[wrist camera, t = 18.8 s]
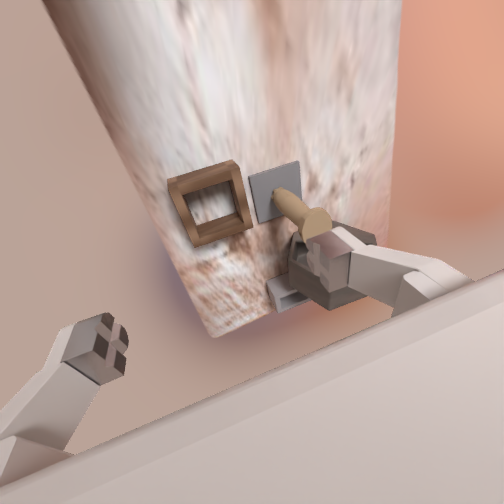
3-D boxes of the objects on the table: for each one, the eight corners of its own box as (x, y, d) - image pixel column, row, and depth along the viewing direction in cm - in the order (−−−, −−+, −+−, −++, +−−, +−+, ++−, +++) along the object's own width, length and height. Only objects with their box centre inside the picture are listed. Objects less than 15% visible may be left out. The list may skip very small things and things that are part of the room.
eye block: (167, 179, 39) (167, 189, 35) (231, 159, 40) (239, 167, 36) (191, 234, 46) (194, 248, 42) (245, 216, 47) (253, 227, 43)
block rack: (265, 280, 60) (274, 297, 55) (362, 243, 63) (378, 256, 58) (269, 297, 64) (278, 313, 59) (359, 261, 67) (374, 274, 62)
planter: (371, 220, 52) (386, 287, 37) (366, 247, 57) (378, 316, 42) (296, 220, 57) (282, 278, 42) (297, 244, 62) (285, 305, 47)
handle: (270, 212, 47) (305, 252, 36) (263, 184, 43) (299, 218, 32) (291, 203, 48) (333, 240, 36) (286, 174, 44) (330, 205, 32)
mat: (248, 176, 43) (249, 177, 42) (297, 160, 44) (299, 161, 43) (258, 221, 49) (259, 223, 48) (300, 206, 50) (302, 208, 49)
